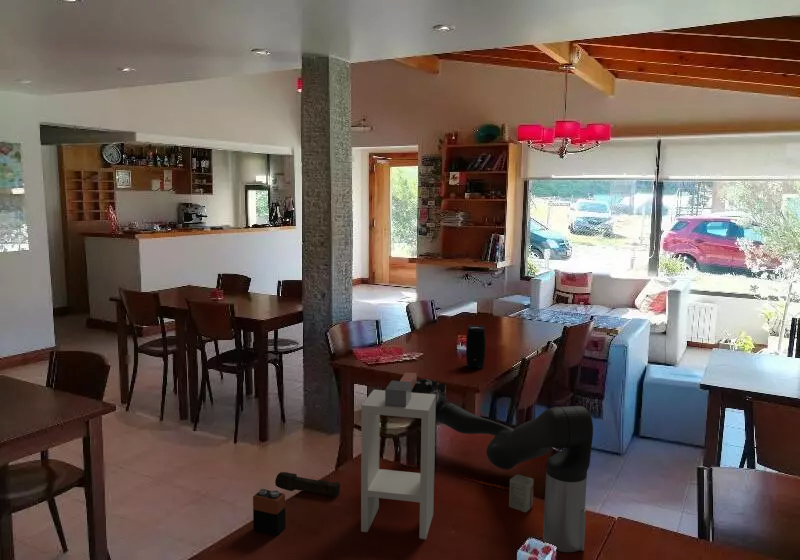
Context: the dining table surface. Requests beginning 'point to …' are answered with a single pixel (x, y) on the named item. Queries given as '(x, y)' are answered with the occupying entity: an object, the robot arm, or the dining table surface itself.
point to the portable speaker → (475, 346)
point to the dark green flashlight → (306, 484)
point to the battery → (269, 512)
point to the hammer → (400, 390)
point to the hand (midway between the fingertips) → (417, 382)
